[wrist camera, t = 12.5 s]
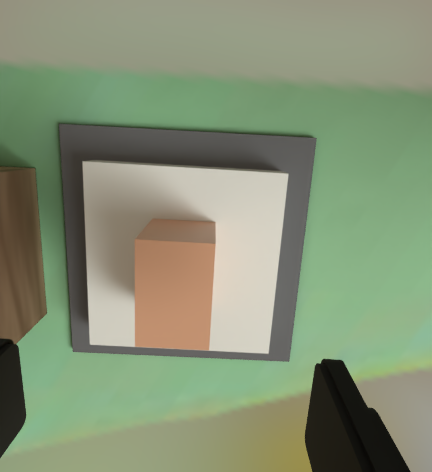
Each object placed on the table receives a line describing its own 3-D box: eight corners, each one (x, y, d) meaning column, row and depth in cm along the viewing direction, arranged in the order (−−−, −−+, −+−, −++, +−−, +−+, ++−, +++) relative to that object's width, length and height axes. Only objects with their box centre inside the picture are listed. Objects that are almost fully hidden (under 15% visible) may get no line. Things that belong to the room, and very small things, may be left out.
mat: (314, 138, 23) (316, 138, 23) (288, 358, 27) (289, 361, 27) (61, 124, 23) (58, 123, 22) (74, 348, 27) (72, 351, 27)
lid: (281, 171, 23) (310, 181, 16) (263, 336, 26) (281, 405, 19) (95, 159, 23) (42, 165, 16) (100, 327, 26) (58, 394, 19)
